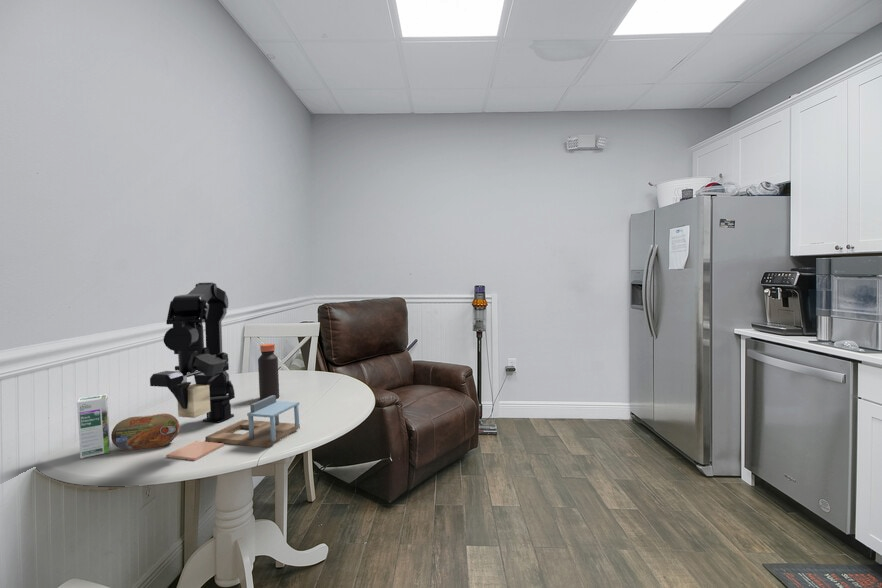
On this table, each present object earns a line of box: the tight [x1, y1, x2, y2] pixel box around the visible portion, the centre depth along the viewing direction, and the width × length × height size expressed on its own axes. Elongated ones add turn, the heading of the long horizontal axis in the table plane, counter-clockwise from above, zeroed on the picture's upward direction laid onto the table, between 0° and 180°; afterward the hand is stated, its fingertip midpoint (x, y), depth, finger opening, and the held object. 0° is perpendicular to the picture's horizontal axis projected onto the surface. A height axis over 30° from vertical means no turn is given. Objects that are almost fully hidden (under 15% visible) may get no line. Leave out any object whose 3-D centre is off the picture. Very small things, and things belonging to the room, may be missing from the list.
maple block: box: [177, 383, 210, 419], centre depth 104 cm, size 5×5×7 cm
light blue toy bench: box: [246, 395, 300, 441], centre depth 113 cm, size 8×12×9 cm
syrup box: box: [76, 393, 111, 459], centre depth 106 cm, size 6×6×14 cm
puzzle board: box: [204, 419, 301, 448], centre depth 115 cm, size 20×14×1 cm
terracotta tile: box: [165, 440, 225, 461], centre depth 105 cm, size 9×9×1 cm
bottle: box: [257, 343, 280, 401], centre depth 151 cm, size 7×7×20 cm
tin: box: [110, 413, 180, 452], centre depth 109 cm, size 15×3×8 cm, turn 106°
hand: (194, 405), depth 104 cm, fingers closed on maple block, 5 cm apart
